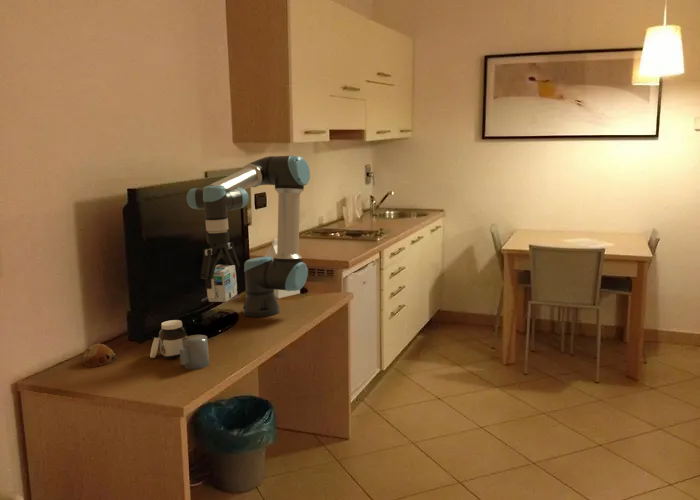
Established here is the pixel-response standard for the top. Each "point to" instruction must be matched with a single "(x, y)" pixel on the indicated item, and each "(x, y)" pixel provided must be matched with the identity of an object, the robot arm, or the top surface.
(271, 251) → the milk
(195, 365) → the grey mug
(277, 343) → the top surface
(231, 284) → the light bulb box
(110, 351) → the bread roll
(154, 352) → the spread jar
